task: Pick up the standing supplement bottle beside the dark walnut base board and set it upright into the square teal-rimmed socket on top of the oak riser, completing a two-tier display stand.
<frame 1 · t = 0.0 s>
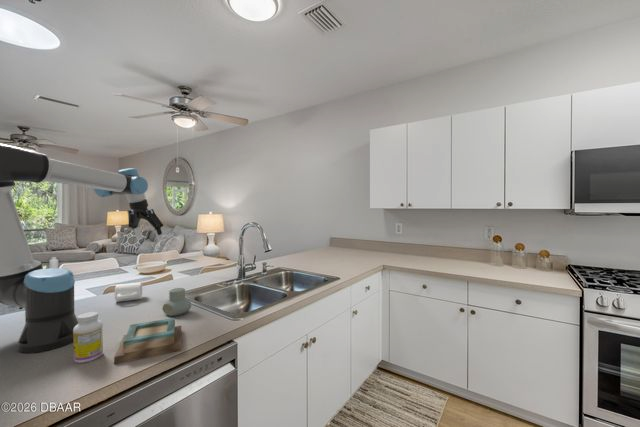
hand: (150, 240, 142), 28 cm above the worktop, tool tilted 20°, fingers open, 13 cm apart
green pipe tee: (177, 313, 116), on the worktop
display stand: (151, 345, 89), on the worktop
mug: (128, 301, 131), on the worktop
supplement bottle: (88, 358, 82), on the worktop
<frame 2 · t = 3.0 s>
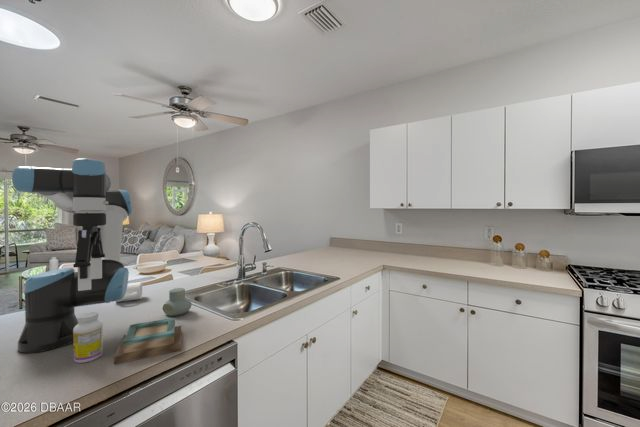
hand: (91, 284, 82), 22 cm above the worktop, tool pointing down, fingers open, 13 cm apart
nothing on the worktop moved.
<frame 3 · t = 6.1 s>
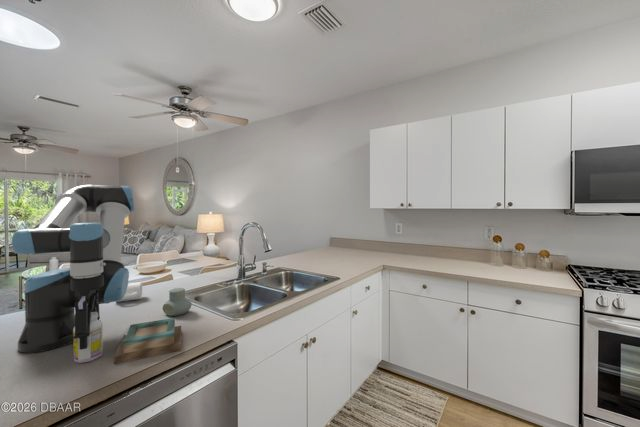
hand: (88, 352, 82), 2 cm above the worktop, tool pointing down, fingers closed on supplement bottle, 7 cm apart
supplement bottle: (88, 358, 82), on the worktop, touching gripper
everything else where it was.
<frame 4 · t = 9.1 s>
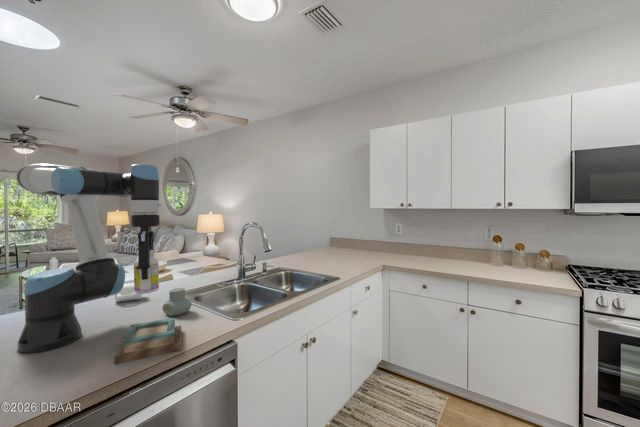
hand: (147, 286, 88), 19 cm above the worktop, tool pointing down, fingers closed on supplement bottle, 7 cm apart
supplement bottle: (147, 291, 88), point 18 cm above the worktop, touching gripper
everything else where it was.
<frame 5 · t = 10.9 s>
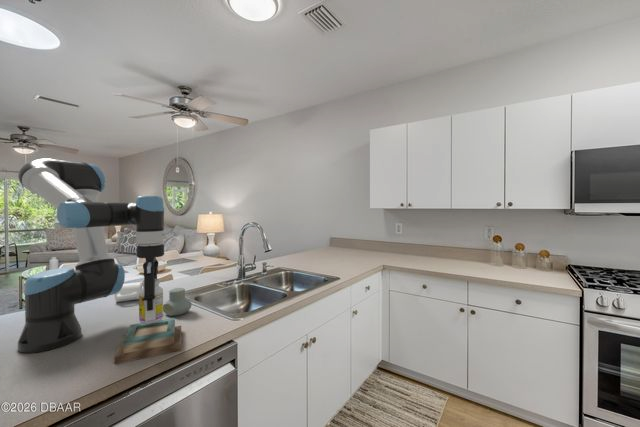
hand: (151, 315, 89), 10 cm above the worktop, tool pointing down, fingers closed on supplement bottle, 7 cm apart
supplement bottle: (151, 320, 89), point 8 cm above the worktop, touching gripper
everything else where it was.
when the fingers open (7 cm above the worktop, at t = 12.2 s): supplement bottle stays where it is, resting on display stand.
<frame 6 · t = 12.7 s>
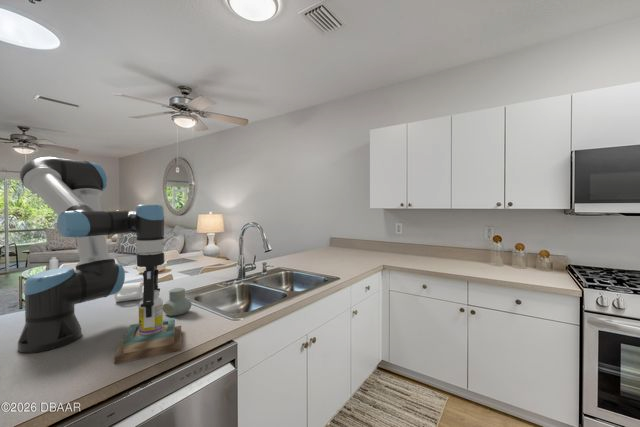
hand: (151, 319, 89), 9 cm above the worktop, tool pointing down, fingers open, 13 cm apart
supplement bottle: (151, 332, 89), point 4 cm above the worktop, touching display stand
everything else where it was.
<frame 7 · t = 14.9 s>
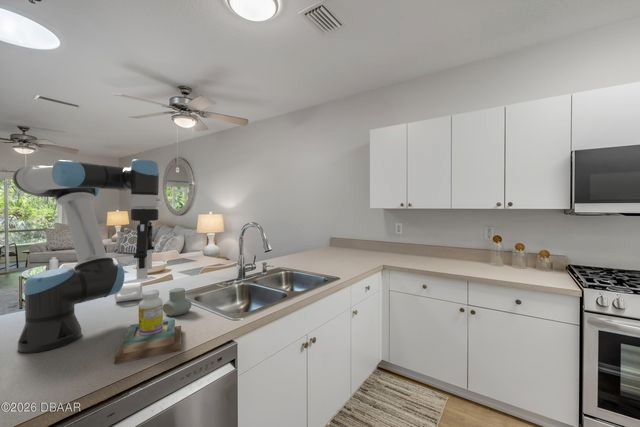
hand: (144, 273, 90), 23 cm above the worktop, tool pointing down, fingers open, 13 cm apart
nothing on the worktop moved.
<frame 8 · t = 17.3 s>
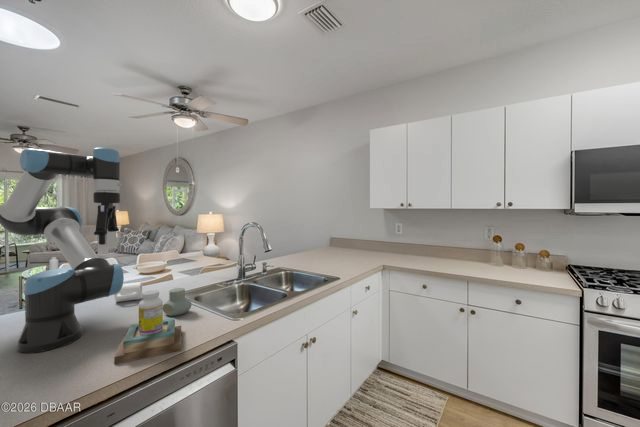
hand: (107, 251, 99), 29 cm above the worktop, tool pointing down, fingers open, 13 cm apart
nothing on the worktop moved.
at the end: supplement bottle 0.1 cm off-centre on the display stand, point 4.3 cm above the display stand's base; supplement bottle tilted 0°; the gripper is holding nothing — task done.
